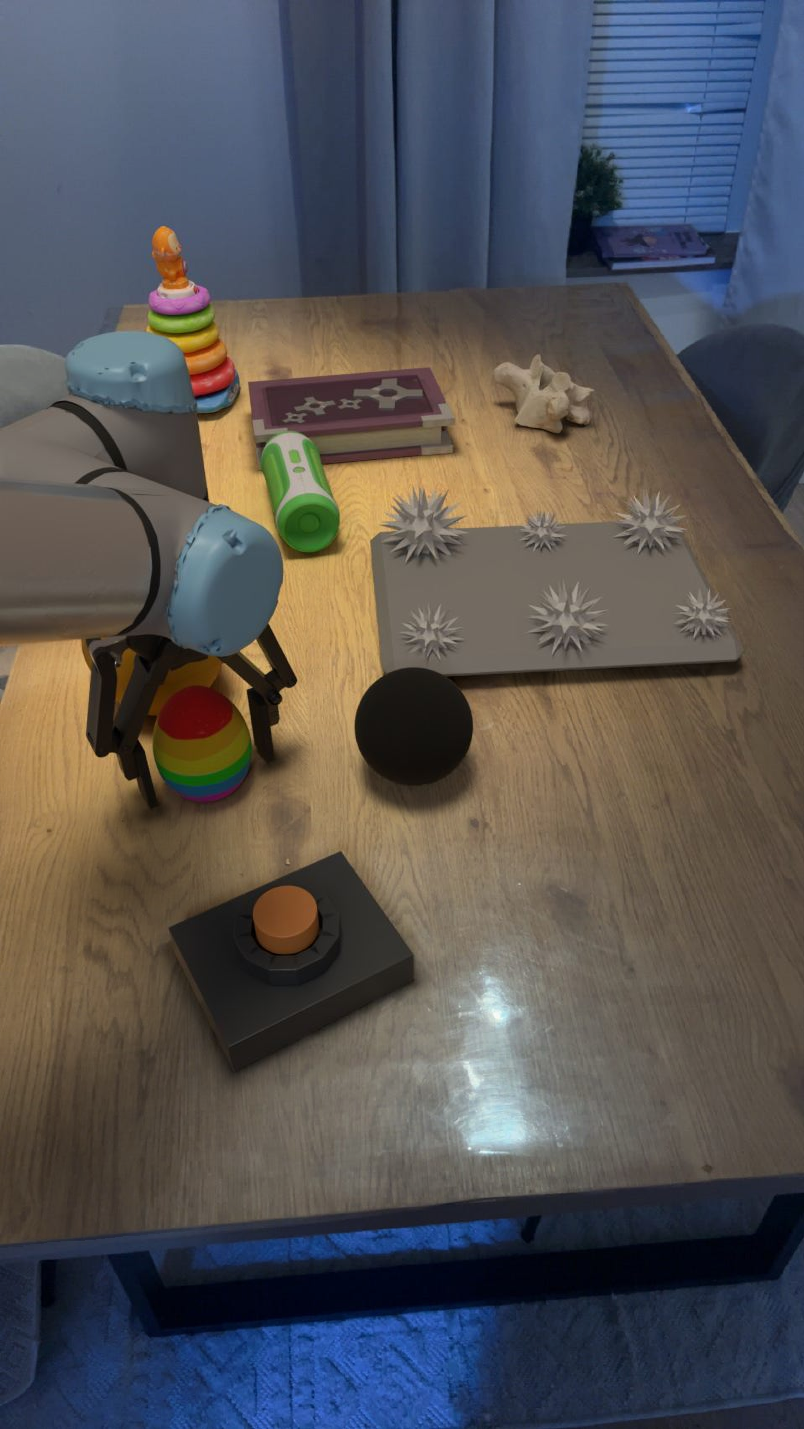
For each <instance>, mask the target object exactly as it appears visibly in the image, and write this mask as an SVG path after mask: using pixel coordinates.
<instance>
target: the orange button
mask: <svg viewBox="0 0 804 1429" xmlns="http://www.w3.org/2000/svg"><path fill="white" fill-rule="evenodd" d="M253 920H254V926H255V931H256V936H257V939H258V941H259V943H260V944H261V945H262V946H263V947H264V948H265V949H266V950H268V951H270V952H272V953H275V954H281V955H289V954H294V953H298V952H300V951H302V950H304V949H306V948H307V947H308V946H309V945H311V944H312V942H313V941H314V940H315V938H316V936H317V934H318V931H319V920H318V911H317V904H316V901H315V899H314V898H313V896H312V895H311V894H310V893H309V892H307V891H306V890H304V889H302V888H300V887H296V886H279V887H276V888H273V889H271V890H269V891H267V892H266V893H264V894H263V895H262V896H261V897H260V898H259V899H258V901H257V902H256V904H255V906H254V909H253Z"/></svg>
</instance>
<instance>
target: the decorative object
mask: <svg viewBox="0 0 804 1429" xmlns="http://www.w3.org/2000/svg"><path fill="white" fill-rule="evenodd" d="M492 380H493V382H494V383H495V384H497V385H500V386H502V387H504V388H506V389H508V391H510V392H511V393H512V395H513V396H514V401H515V407H516V412H517V415H516V417H515V418H514V422H515V423H516V424H518V425H520V426H522V427H528V428H533V429H535V428H536V429H542V430H544V431H548V432H551V433H554V434H560V433H561V431H562V430H563V424H562V421H561V419H563V418H564V417H565V420H567V421H568V422H572V423H575V424H579V425H584V426H587V425H589V423H590V421H591V416H590V411H589V409H588V401H589V399H590V398H591V394H592V393H594V392H595V389H593V388H591V387H584V386H580V385H578V384H576V383H574V382H573V381H571V380H572V379H571V376H570V374H569V373H568V372H564V371H560V372H559V371H558V372H555V371H554V370H553V369H552V368H550V367H549V366H548V365H545V363H543V361H542V356H541V354H539V353H538V354H536V355H535V356H534V357H533V358H532V361H531V363H530V365H529V368H526V369H524V368H521V367H520V366H518V365H517V364H515V363H512V362H511V361H507V362H506V361H505V362H503V363H501V364H498V365H497V366H496V368H495V369H493V373H492Z"/></svg>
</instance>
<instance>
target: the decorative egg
mask: <svg viewBox="0 0 804 1429" xmlns="http://www.w3.org/2000/svg"><path fill="white" fill-rule="evenodd" d="M151 740H152V754H153V759H154V763H155V766H156V769H157V772H158V774H159V775H160V777H161V778H162V780H163V781H164V783H165V784H166V785H167V787H169V788H170V789H171V790H172V791H173V792H175V793H176V794H177V795H179V796H181V797H182V798H184V799H187V800H189V801H192V802H197V803H209V802H210V803H211V802H215V801H219V800H222V799H225V798H226V797H227V796H229V795H231V794H232V793H233V792H234V791H236V790H237V788H239V786H241V784H242V783H243V781H244V780H245V778H246V776H247V774H248V772H249V769H250V767H251V762H252V757H253V756H252V755H253V743H252V737H251V732H250V729H249V727H248V724H247V721H246V720H245V718H244V715H242V712H241V711H240V710H239V708H238V707H237V706H236V705H235V704H234V702H233V701H232V700H231V699H230V698H228V697H227V696H226V695H224V694H223V693H222V692H220V691H219V690H216V689H214V688H212V687H210V688H209V687H206V686H200V685H195V686H188V687H185V688H183V689H181V690H179V691H177V692H176V693H175V694H173V695H172V696H171V697H170V698H169V699H168V700H167V702H166V703H165V704H164V706H163V707H162V709H161V710H160V712H159V714H158V716H156V720H155V723H154V727H153V732H152V739H151Z"/></svg>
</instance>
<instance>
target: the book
mask: <svg viewBox="0 0 804 1429" xmlns="http://www.w3.org/2000/svg"><path fill="white" fill-rule="evenodd" d="M247 386H248V393H249V394H248V395H249V402H250V411H251V412H250V413H251V419H252V420H251V421H252V427H253V436H254V443H255V456H256V463H257V469H258V471H262V468H261V458H262V452H263V450H264V447H265V445H266V443H267V442H268V440H269V439H270V438H271V437H273V436H274V435H276V434H278V433H280V432H284V431H295V432H299V433H301V434H303V435H305V436H306V437H307V438H309V439H310V440H311V441H312V442H313V443H314V445H315V446H316V447H317V449H318V451H319V453H320V458H321V463H322V465H325V464H327V465H328V464H337V463H347V462H349V463H350V462H358V461H359V462H360V461H370V460H380V459H392V458H403V457H413V456H430V455H431V456H433V455H443V454H444V455H445V454H454V444H453V443H452V442H453V441H452V440H451V438H450V436H449V434H448V431H447V430H446V427H448V426H456V417H455V414H454V413H453V411H452V408H451V406H450V404H449V403H448V402H447V401H446V399H445V396H444V395H443V392H442V390H441V388H440V386H439V383H438V381H437V379H436V378H435V375H434V372H433V371H432V369H431V367H430V366H429V367H428V366H427V367H413V368H401V369H392V370H379V371H367V372H354V373H352V372H351V373H342V374H329V375H317V376H304V377H292V378H280V379H265V380H255V381H247Z"/></svg>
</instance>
